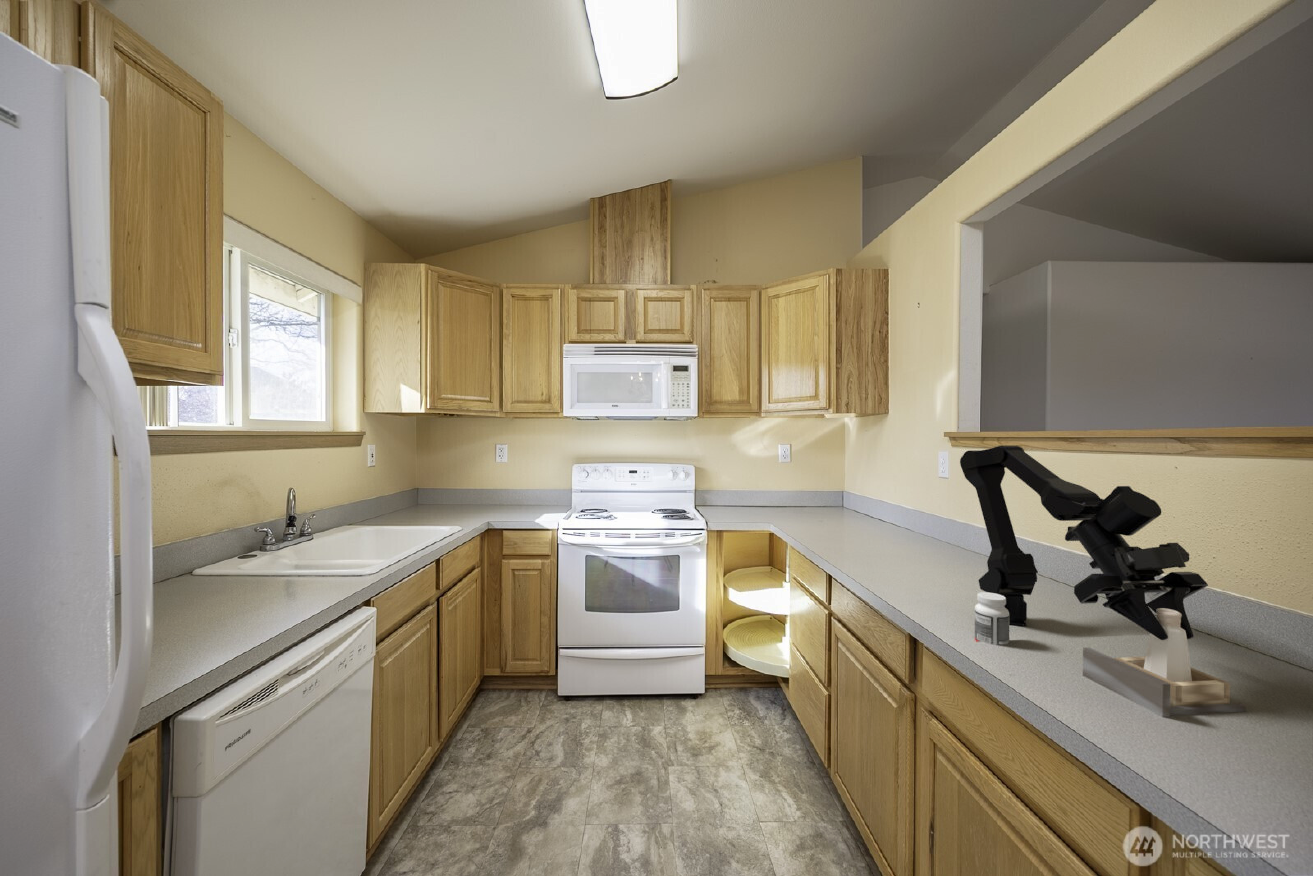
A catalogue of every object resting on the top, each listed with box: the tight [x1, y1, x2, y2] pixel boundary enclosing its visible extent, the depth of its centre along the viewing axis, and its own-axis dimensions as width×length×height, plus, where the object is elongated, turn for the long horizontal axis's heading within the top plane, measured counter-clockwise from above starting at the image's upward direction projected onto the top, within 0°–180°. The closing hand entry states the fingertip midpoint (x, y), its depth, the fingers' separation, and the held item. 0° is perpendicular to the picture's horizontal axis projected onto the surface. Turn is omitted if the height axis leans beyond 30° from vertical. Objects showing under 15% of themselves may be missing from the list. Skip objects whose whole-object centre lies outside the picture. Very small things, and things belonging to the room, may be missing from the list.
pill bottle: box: [974, 591, 1010, 646], centre depth 97 cm, size 6×6×10 cm
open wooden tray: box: [1082, 646, 1247, 718], centre depth 79 cm, size 16×16×6 cm
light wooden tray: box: [1113, 656, 1231, 707], centre depth 77 cm, size 9×9×4 cm
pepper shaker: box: [1144, 608, 1192, 682], centre depth 77 cm, size 5×5×11 cm
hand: (1177, 638), depth 76 cm, fingers closed on pepper shaker, 4 cm apart
